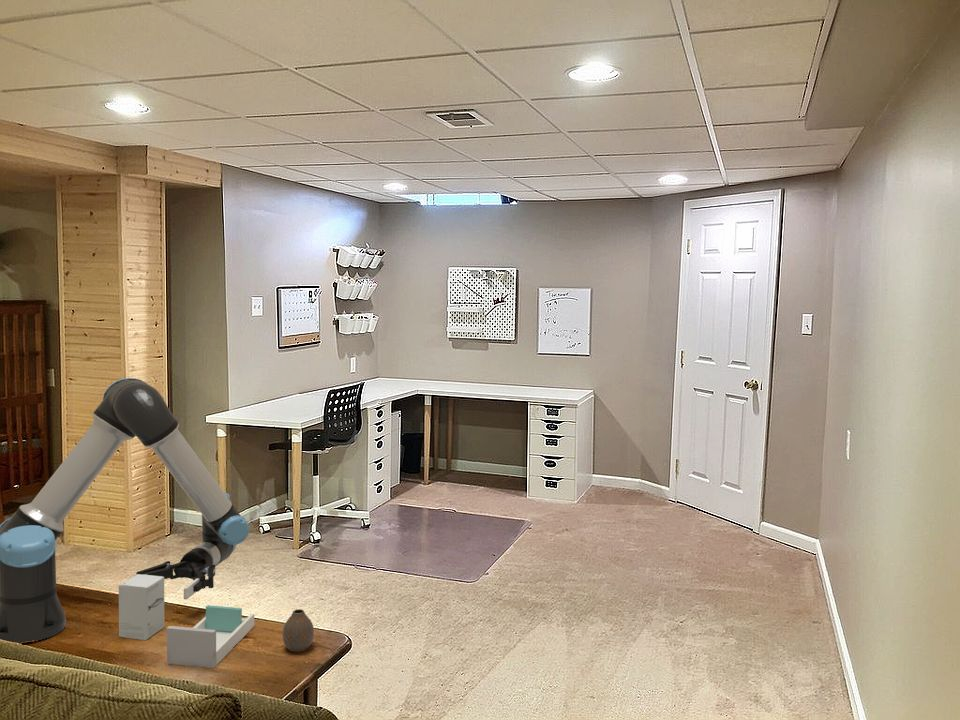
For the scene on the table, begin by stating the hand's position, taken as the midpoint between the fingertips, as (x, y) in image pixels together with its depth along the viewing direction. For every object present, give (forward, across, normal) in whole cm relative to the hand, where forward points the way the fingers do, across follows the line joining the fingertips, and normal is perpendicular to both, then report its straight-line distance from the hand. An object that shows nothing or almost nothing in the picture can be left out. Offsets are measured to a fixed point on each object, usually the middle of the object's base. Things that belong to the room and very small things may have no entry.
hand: (158, 591), depth 190 cm
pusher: (+3, -18, -7) cm, 19 cm away
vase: (+7, -38, -8) cm, 39 cm away
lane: (+9, -18, -7) cm, 21 cm away
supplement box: (+6, +1, -8) cm, 10 cm away
